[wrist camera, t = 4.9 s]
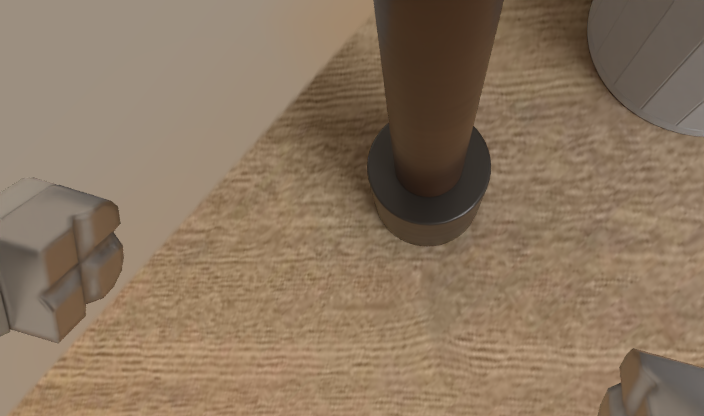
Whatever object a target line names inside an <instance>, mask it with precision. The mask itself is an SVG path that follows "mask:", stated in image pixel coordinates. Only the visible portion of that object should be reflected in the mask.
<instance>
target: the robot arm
mask: <svg viewBox="0 0 704 416" xmlns="http://www.w3.org/2000/svg"><path fill="white" fill-rule="evenodd" d="M119 225H120V217H119V210H118V206H117V205H115V204H114V203H113V202H112V201H109V200H107V199H103V198H100V197H97V196H94V195H90V194H87V193H84V192H80V191H77V190H74V189H71V188H68V187H64V186H61V185H56V184H53V183H50V182H47V181H43V180H40V179H37V178H23V179H21V180H19V181H18V182H16V183H14V184H13V185H12V186H10V187H8V188H7V189H5V190H3V191H2V192H1V193H0V336H3V335H5V334H7V333H9V332H10V329H11V330H15V331H18V332H21V333H25V334H28V335H31V336H35V337H38V338H42V339H45V340H48V341H51V342H55V343H59V342H60V341H61V340H62V339H63V338H64V337H65V336H66V335H67V334H68V333H69V332H70V331H71V330H72V329H73V328H74V327H75V326H76V325H77V324H78V323H79V322H80V321H81V320H82V319H83V318H84V317H85V316H86V304H88V303H91V302H94V301H97V300H99V299H102V298H104V296H106V294H107V293H108V292H109V291H110V290H111V289H112V288H113V287H114V285H115V283H116V281H117V279H118V277H119V275H120V273H121V271H122V265H123V259H124V256H123V245H122V244H121V242H120V241H119V239H118V238H117V237H116V235H115V234H114V231H115V229H116V228H117V227H118V226H119ZM619 368H620V377H621V383H619V384H617V385H615V386H612V387H610V388H608V390H607V392H606V394H605V396H604V398H603V400H602V402H601V404H600V408H599V412H598V416H704V368H703V367H699V366H695V365H692V364H688V363H684V362H681V361H677V360H674V359H670V358H666V357H663V356H659V355H656V354H652V353H648V352H645V351H641V350H637V349H634V348H633V349H632V350H631V351H630V352H629V353H628V354H627V355H626V356H625V358H624V360H623V362H622V363H621V365H620V367H619Z"/></svg>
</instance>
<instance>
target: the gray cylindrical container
mask: <svg viewBox="0 0 704 416" xmlns="http://www.w3.org/2000/svg"><path fill="white" fill-rule="evenodd" d="M587 37H588V44H589V50H590V54H591V57H592V60H593V63H594V65H595V67H596V70H597V72H598V74H599V76H600V77H601V79H602V80H603V82H604V84H605V85H606V87H607V88H608V89H609V90H610V91H611V93H612V94H613V95H614V96H615V97H616V98H617V99H618V100H619V101H620V102H621V103H622V104H623V105H624V106H625V107H627V108H628V109H629V110H631V111H632V112H634V113H635V114H636V115H638V116H639V117H641V118H643V119H645V120H647V121H648V122H650V123H652V124H654V125H657V126H659V127H662V128H664V129H667V130H670V131H674V132H677V133H681V134H687V135H693V136H704V0H593V1H592V4H591V8H590V11H589V17H588V23H587Z"/></svg>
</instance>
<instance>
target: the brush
mask: <svg viewBox="0 0 704 416" xmlns="http://www.w3.org/2000/svg"><path fill="white" fill-rule="evenodd" d="M503 1H504V0H374V8H375V16H376V24H377V32H378V40H379V48H380V56H381V64H382V72H383V80H384V88H385V96H386V104H387V112H388V120H389V123H388V124H386V125H385V126H384V127H383V129H382V130H381V131H380V132H379V133H378V135H377V136H376V138H375V140H374V141H373V143H372V146H371V148H370V151H369V156H368V162H367V173H368V179H369V183H370V187H371V190H372V194H373V197H374V201H375V204H376V208H377V211H378V214H379V216H380V218H381V220H382V222H383V223H384V225H385V226H386V227H387V228H388V230H389V231H390V232H391V233H393V234H394V235H395V236H396V237H398V238H399V239H401V240H403V241H405V242H408V243H410V244H414V245H419V246H436V245H441V244H444V243H447V242H449V241H451V240H454V239H455V238H457V237H458V236H460V235H461V234H462V233H463V232H464V231H465V230H466V229H467V228H468V227H469V226H470V224H471V223H472V221H473V219H474V217H475V215H476V213H477V211H478V208H479V206H480V203H481V201H482V199H483V196H484V194H485V191H486V189H487V186H488V183H489V180H490V174H491V160H490V154H489V150H488V147H487V145H486V142H485V141H484V139H483V137H482V135H481V134H480V133H479V131H478V130H477V129H476V128H475V127H474V126H473V125H474V121H475V117H476V113H477V109H478V105H479V100H480V96H481V92H482V88H483V84H484V80H485V76H486V72H487V67H488V63H489V59H490V55H491V51H492V47H493V43H494V39H495V34H496V30H497V26H498V22H499V18H500V14H501V10H502V6H503Z"/></svg>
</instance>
